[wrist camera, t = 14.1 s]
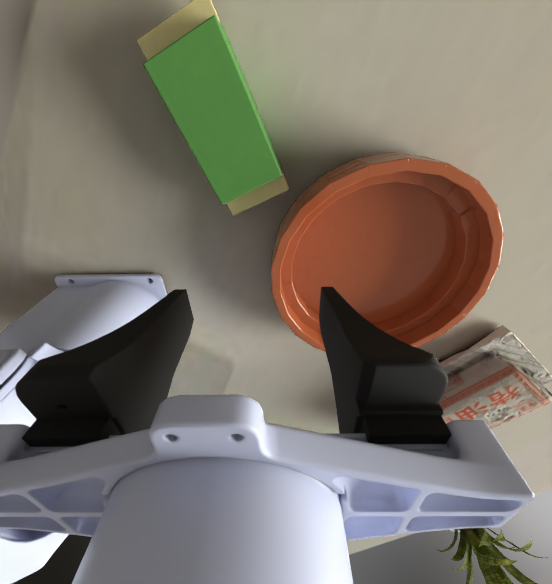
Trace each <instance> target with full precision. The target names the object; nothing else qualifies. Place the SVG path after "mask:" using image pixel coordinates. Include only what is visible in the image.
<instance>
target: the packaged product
mask: <svg viewBox="0 0 552 584" xmlns="http://www.w3.org/2000/svg"><path fill="white" fill-rule="evenodd" d="M440 365H441V366H442V368H443V370H444V371H445V373H446V374H447V376H448V384H447V388H446V390H445V392H444V394H443V396H442V398H441V400H440V402H439V404H440V406H441V408H442V409H443V415H441V416H442V418H443V420H444V422H445V423H446V424H447V423H448V422H450V421H454V420H483V421H485V422H486V423H487V425H488V426H489V428H490V429H491V428H493V427H496V426H498V425H500V424H502V423H505V422H508V421H510V420H512V419H514V418H516V417H520V416H522V415H524V414H526V413H528V412H531V411H533V410H536V409H538V408H540V407H543V406H545V405H546V404H548V403H550V402H551V401H552V394H551V393H550V392H549V391H548V390H547V389H546V388H545V387H544V386H543V384H545V383H548V382H551V381H552V376H551V374H550V373H549V372H548V371H547V370H546V368H545V367H544V366H543V365H542V364H541V363H539V361H538V360H537V359H536V358H535V357H534V355H533V354H532V353H531V352H530V351H529V350H528V349H527V347H526V346H525V345H524V344H523V343H522V342H521V341H520V340H519V339H518V338H517V337H516V336H515V335H514V334H513V333H512V332H511V331H509V330H508V329H507V328H505V327H504V326H503V325H502V326H501V327H499V328H498V329H496V330H495V331H494V332H492V333H491V334H489V335H488V336H486V337H485V338H484V339H482V340H481V341H479V342H478V343H476V344H475V345H474V346H472V347H471V348H469V349H468V350H465V351H463V352H460V353H457V354H455V355H453V356H451V357H450V358H448V359H446V360H444V361H442V362H440Z"/></svg>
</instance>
